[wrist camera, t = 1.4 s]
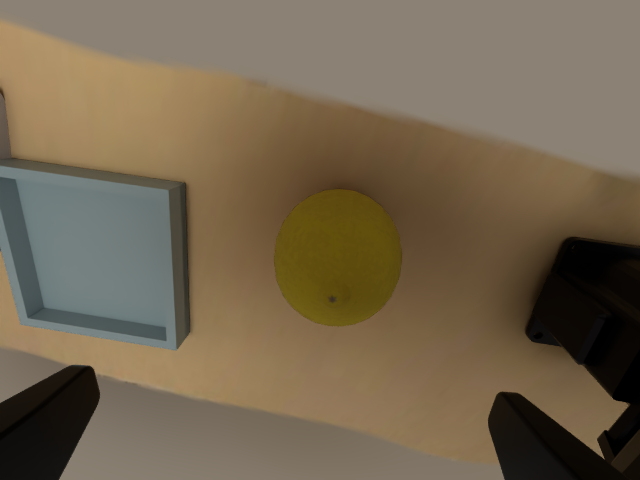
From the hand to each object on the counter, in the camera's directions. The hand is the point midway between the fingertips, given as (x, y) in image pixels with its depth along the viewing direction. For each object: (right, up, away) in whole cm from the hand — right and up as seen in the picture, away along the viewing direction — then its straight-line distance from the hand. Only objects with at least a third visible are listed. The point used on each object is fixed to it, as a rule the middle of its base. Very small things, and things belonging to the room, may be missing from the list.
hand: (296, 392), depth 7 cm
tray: (-13, +3, +13) cm, 18 cm away
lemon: (+2, +4, +11) cm, 12 cm away
